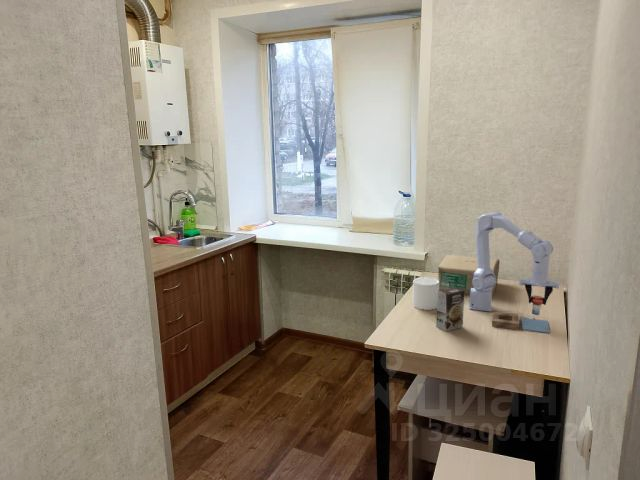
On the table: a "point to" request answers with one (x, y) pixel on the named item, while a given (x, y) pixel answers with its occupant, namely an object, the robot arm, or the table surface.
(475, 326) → the table surface
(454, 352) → the table surface
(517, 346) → the table surface
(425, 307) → the cup
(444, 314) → the coffee box
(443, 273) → the paper package
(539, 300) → the red mushroom head
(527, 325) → the mat
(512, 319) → the eye block
